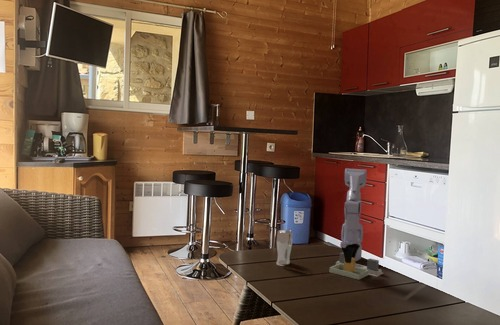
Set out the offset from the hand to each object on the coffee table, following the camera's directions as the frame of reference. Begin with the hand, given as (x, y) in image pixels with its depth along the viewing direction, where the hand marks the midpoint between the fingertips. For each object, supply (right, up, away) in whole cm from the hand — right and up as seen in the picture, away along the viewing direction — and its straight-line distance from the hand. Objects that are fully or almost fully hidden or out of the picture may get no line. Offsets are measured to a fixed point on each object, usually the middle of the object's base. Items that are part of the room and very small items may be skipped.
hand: (349, 262), depth 173 cm
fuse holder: (+5, -6, +7) cm, 11 cm away
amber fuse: (0, -4, 0) cm, 4 cm away
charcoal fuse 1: (0, -5, +11) cm, 12 cm away
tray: (0, -6, 0) cm, 6 cm away
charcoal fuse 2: (+10, -5, +3) cm, 12 cm away
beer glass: (-27, -4, +12) cm, 30 cm away
